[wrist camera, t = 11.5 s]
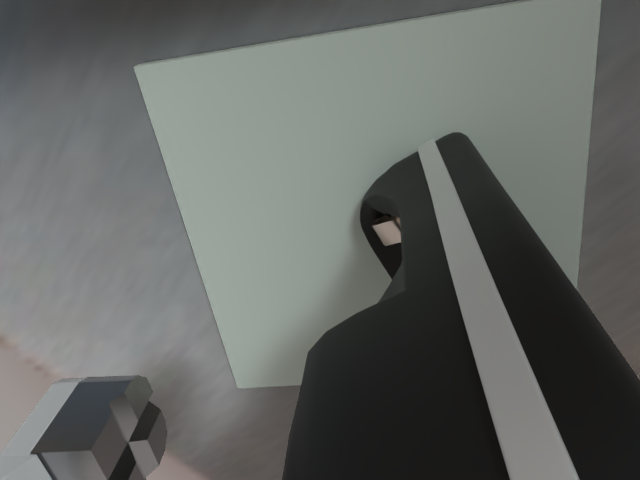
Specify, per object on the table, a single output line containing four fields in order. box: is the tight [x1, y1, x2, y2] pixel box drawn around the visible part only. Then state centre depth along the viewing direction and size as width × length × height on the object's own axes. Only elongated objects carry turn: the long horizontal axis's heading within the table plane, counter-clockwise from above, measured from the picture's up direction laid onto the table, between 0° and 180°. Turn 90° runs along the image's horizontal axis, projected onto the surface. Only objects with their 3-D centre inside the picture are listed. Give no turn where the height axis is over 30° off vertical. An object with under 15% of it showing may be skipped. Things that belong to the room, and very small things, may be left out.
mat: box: [134, 0, 602, 389], centre depth 13 cm, size 10×10×1 cm
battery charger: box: [282, 132, 640, 480], centre depth 8 cm, size 7×4×11 cm, turn 33°
